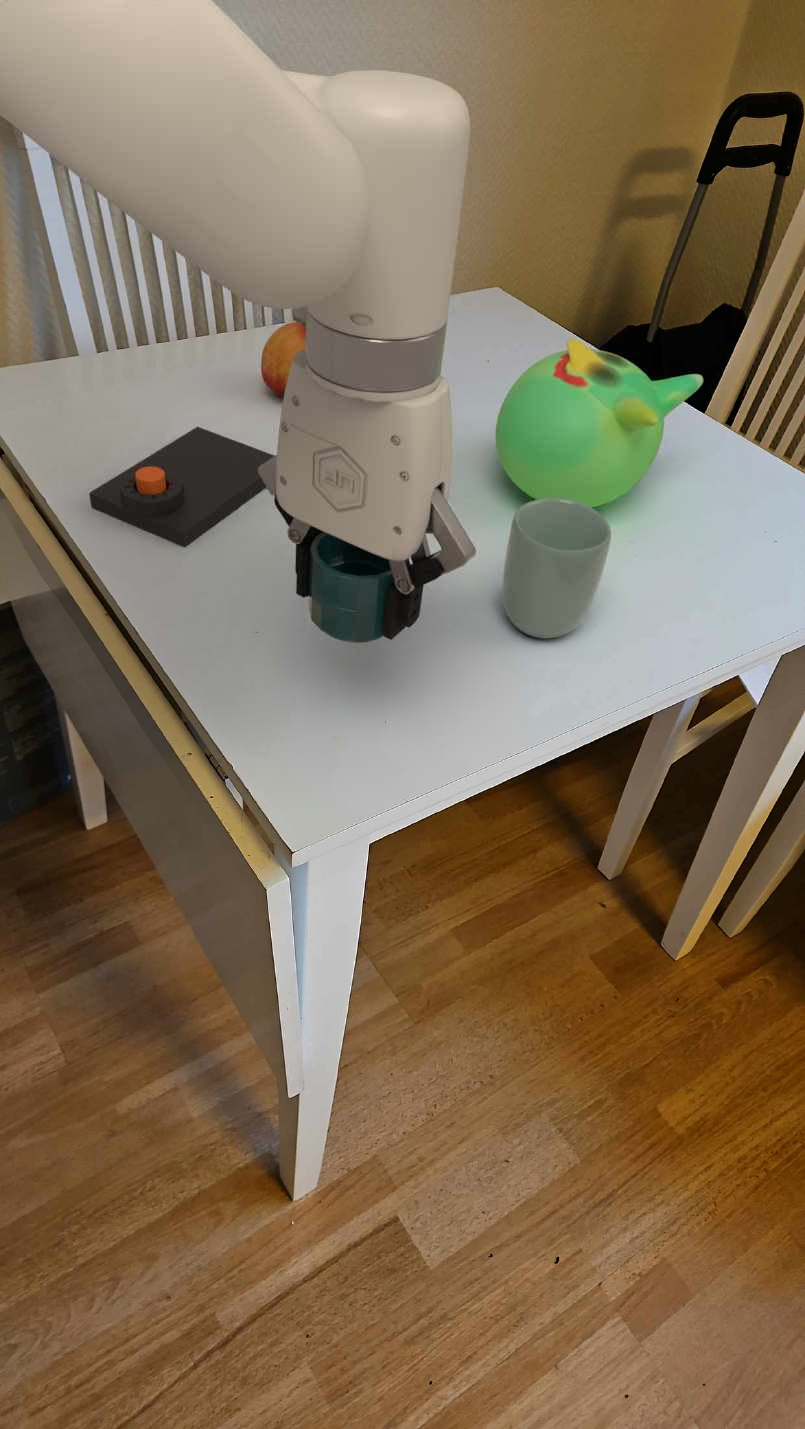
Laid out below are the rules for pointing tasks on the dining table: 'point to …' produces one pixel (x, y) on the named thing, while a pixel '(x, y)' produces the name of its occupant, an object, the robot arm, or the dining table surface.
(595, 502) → the toy bird
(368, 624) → the teal hollow faceted cylinder
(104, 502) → the scale
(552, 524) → the cup
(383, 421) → the robot arm
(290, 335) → the fruit
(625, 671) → the dining table surface
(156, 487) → the button
